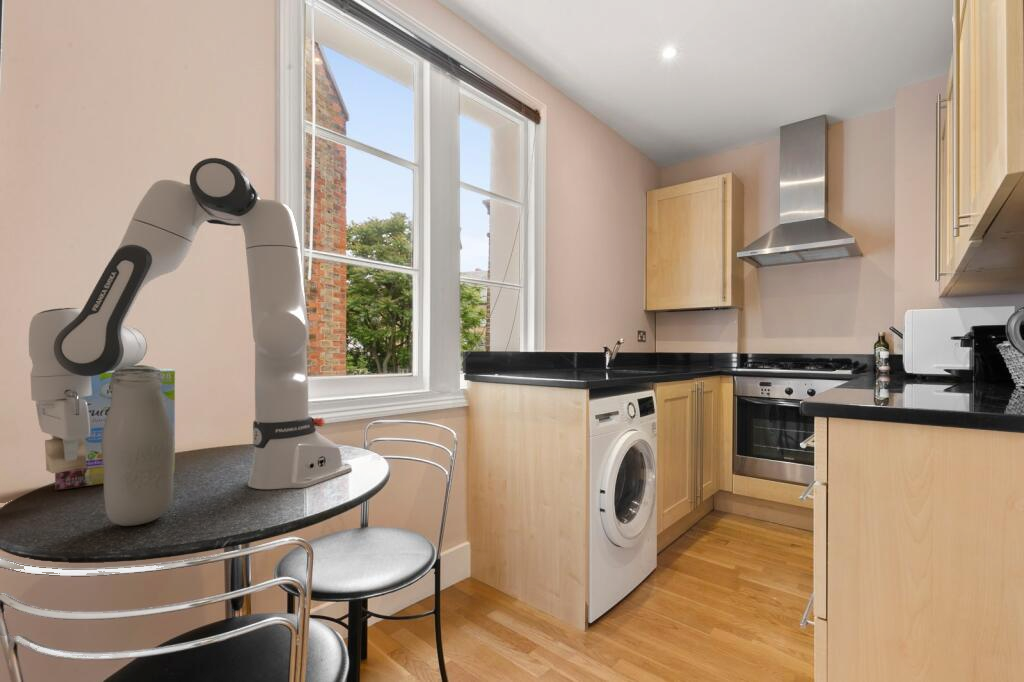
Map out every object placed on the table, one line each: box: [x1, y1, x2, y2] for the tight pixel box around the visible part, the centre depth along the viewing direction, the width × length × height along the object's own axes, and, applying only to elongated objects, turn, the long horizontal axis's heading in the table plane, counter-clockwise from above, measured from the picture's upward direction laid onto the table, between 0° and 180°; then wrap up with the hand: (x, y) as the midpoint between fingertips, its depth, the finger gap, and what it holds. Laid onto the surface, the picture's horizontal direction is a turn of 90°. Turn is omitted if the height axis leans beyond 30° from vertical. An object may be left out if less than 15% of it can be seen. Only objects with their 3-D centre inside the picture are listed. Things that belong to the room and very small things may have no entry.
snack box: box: [54, 368, 176, 491], centre depth 112 cm, size 22×9×26 cm, turn 129°
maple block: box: [44, 438, 86, 475], centre depth 96 cm, size 5×5×6 cm
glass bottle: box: [101, 364, 174, 527], centre depth 84 cm, size 10×10×28 cm
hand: (66, 457), depth 96 cm, fingers closed on maple block, 5 cm apart
